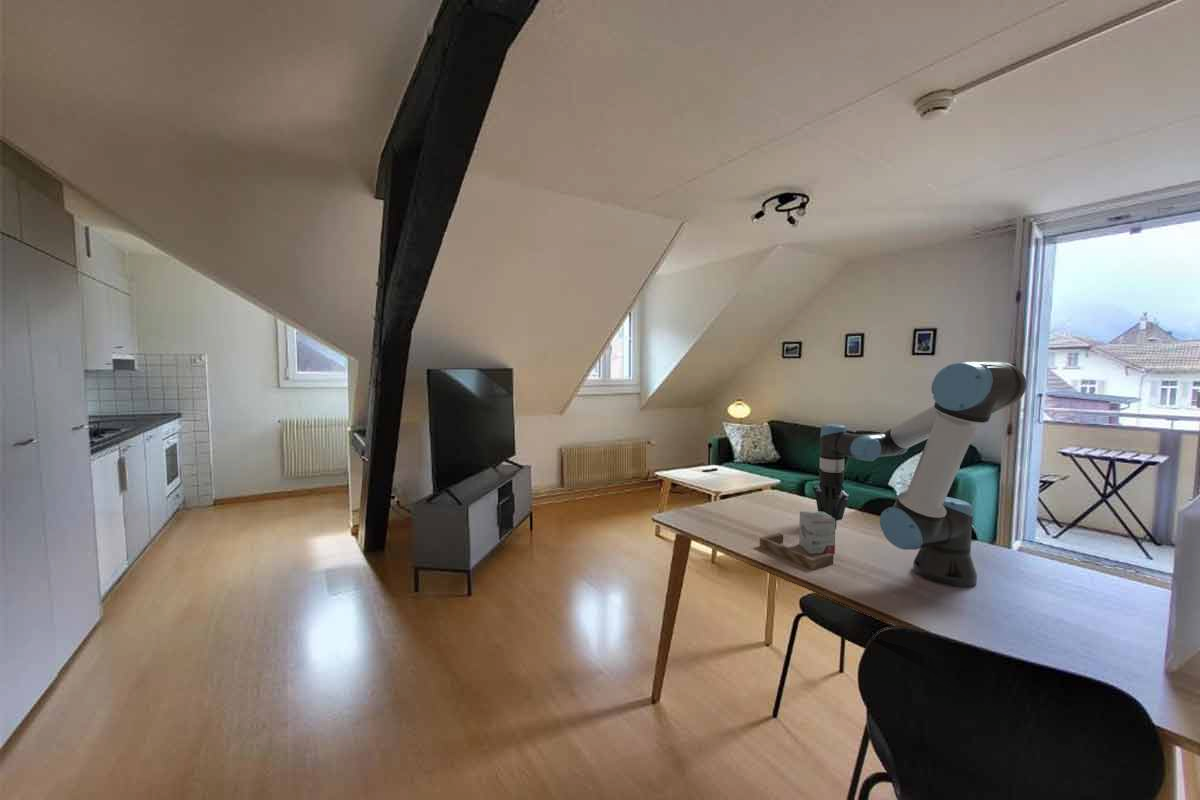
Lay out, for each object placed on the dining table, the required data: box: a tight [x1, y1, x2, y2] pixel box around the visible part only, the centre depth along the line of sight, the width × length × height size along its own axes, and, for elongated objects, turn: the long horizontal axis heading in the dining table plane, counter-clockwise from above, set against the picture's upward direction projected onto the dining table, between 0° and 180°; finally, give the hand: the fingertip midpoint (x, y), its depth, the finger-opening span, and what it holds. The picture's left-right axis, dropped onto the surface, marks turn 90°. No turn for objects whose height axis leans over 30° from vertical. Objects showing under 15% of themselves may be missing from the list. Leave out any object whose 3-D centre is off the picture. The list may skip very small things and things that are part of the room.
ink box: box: [798, 511, 836, 555], centre depth 160 cm, size 9×9×12 cm
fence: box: [759, 532, 835, 571], centre depth 155 cm, size 21×10×3 cm, turn 27°
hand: (829, 538), depth 163 cm, fingers closed
